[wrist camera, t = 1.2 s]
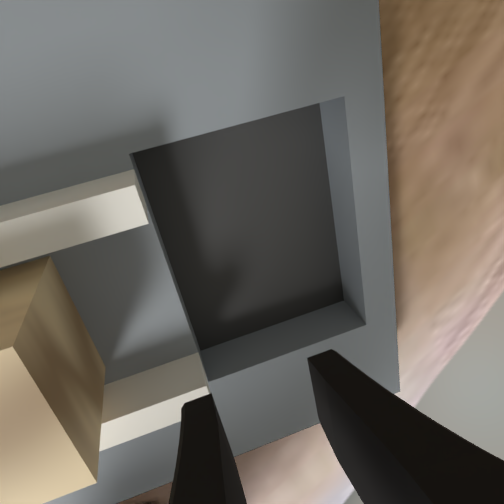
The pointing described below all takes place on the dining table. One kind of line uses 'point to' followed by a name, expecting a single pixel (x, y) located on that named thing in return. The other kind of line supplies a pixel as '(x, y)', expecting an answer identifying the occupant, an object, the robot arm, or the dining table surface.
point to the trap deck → (202, 206)
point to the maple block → (46, 388)
